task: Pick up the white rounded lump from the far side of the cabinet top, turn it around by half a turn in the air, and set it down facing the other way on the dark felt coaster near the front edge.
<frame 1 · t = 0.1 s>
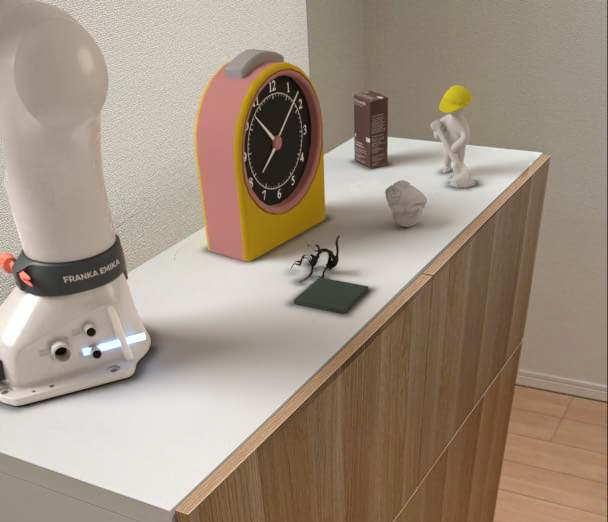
alarm clock: (268, 234, 129), on the table
box: (370, 164, 153), on the table
creature: (314, 274, 117), on the table
coaster pad: (331, 296, 111), on the table
white rounded lump: (404, 226, 129), on the table
figurine: (452, 179, 144), on the table
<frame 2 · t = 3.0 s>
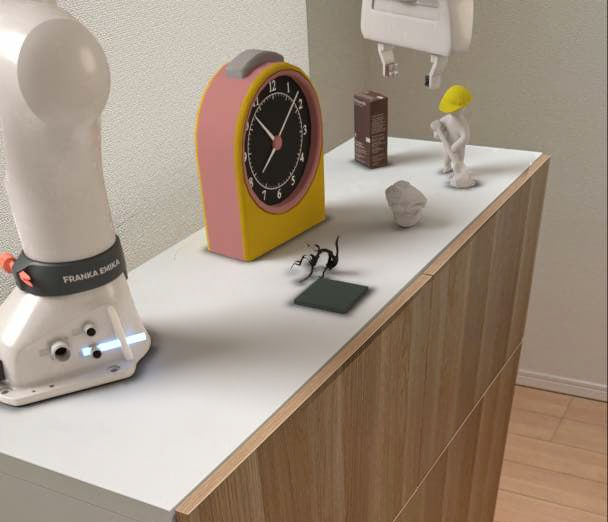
hand: (410, 82, 114), 21 cm above the table, tool pointing down, fingers open, 8 cm apart
nothing on the table moved.
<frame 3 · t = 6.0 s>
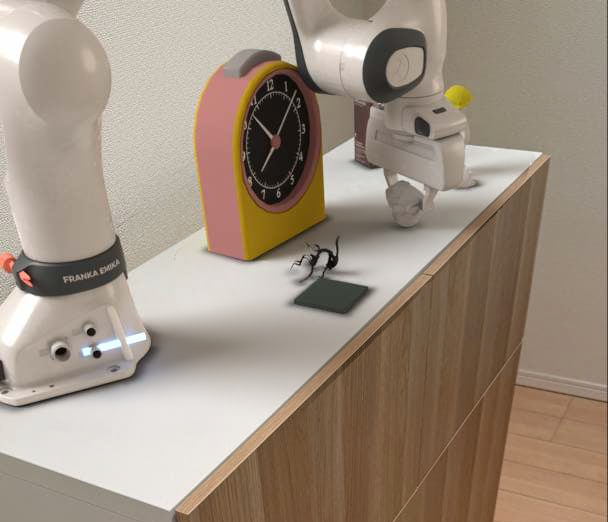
hand: (410, 203, 127), 3 cm above the table, tool pointing down, fingers closed on white rounded lump, 6 cm apart
alarm clock: (268, 234, 129), on the table, touching arm
white rounded lump: (405, 226, 129), on the table, touching gripper
everything else where it was.
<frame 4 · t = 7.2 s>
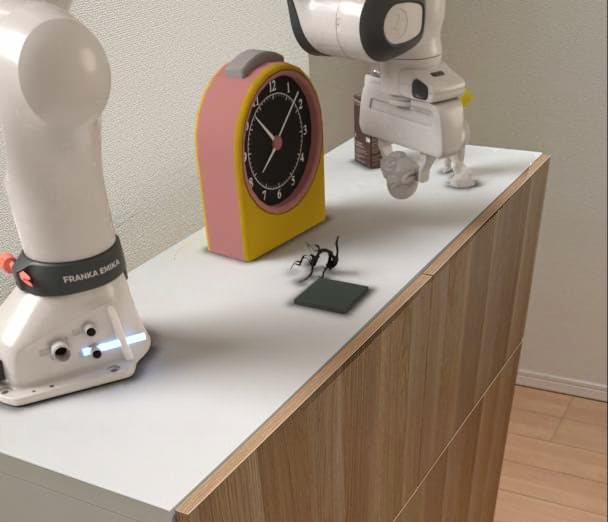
hand: (405, 175, 123), 8 cm above the table, tool pointing down, fingers closed on white rounded lump, 6 cm apart
alarm clock: (268, 234, 129), on the table
white rounded lump: (399, 199, 125), point 5 cm above the table, touching gripper
everything else where it was.
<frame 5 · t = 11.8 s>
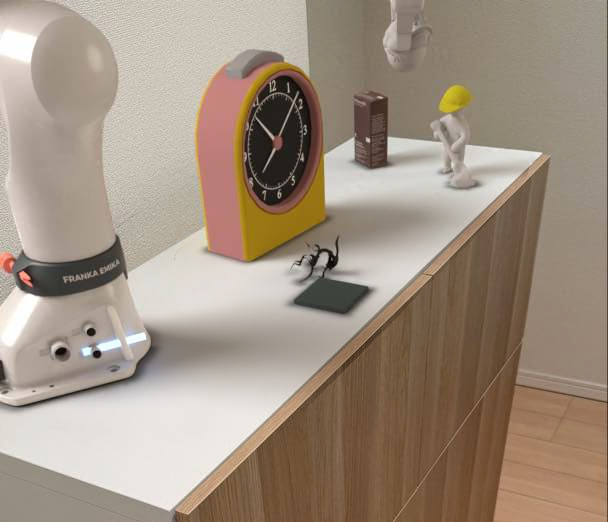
hand: (400, 42, 98), 29 cm above the table, tool pointing down, fingers closed on white rounded lump, 6 cm apart
white rounded lump: (406, 74, 101), point 25 cm above the table, touching gripper
everything else where it was.
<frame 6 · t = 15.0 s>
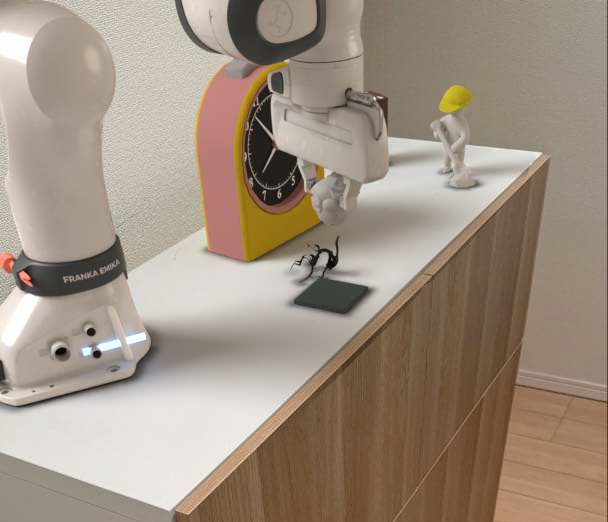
hand: (329, 200, 102), 13 cm above the table, tool pointing down, fingers closed on white rounded lump, 6 cm apart
white rounded lump: (336, 225, 105), point 10 cm above the table, touching gripper
everything else where it was.
when the fingers open (4 cm above the table, at t = 17.6 s): white rounded lump stays where it is, resting on coaster pad.
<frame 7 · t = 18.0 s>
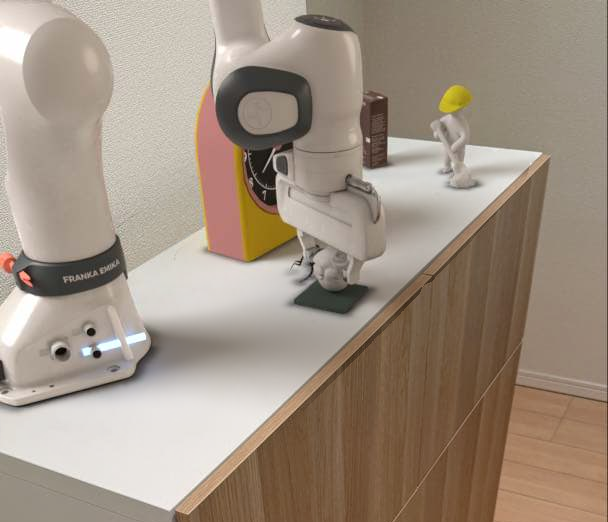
hand: (330, 271, 108), 4 cm above the table, tool pointing down, fingers open, 8 cm apart
white rounded lump: (336, 291, 111), resting on coaster pad
everything else where it was.
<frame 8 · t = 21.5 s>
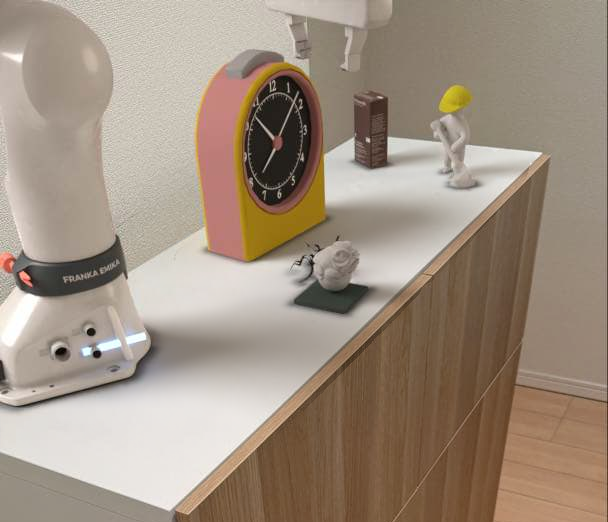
hand: (325, 64, 91), 29 cm above the table, tool pointing down, fingers open, 8 cm apart
nothing on the table moved.
at the end: white rounded lump 1.1 cm off-centre on the coaster pad, point 0.4 cm above the coaster pad's base; white rounded lump tilted 0°; the gripper is holding nothing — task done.
